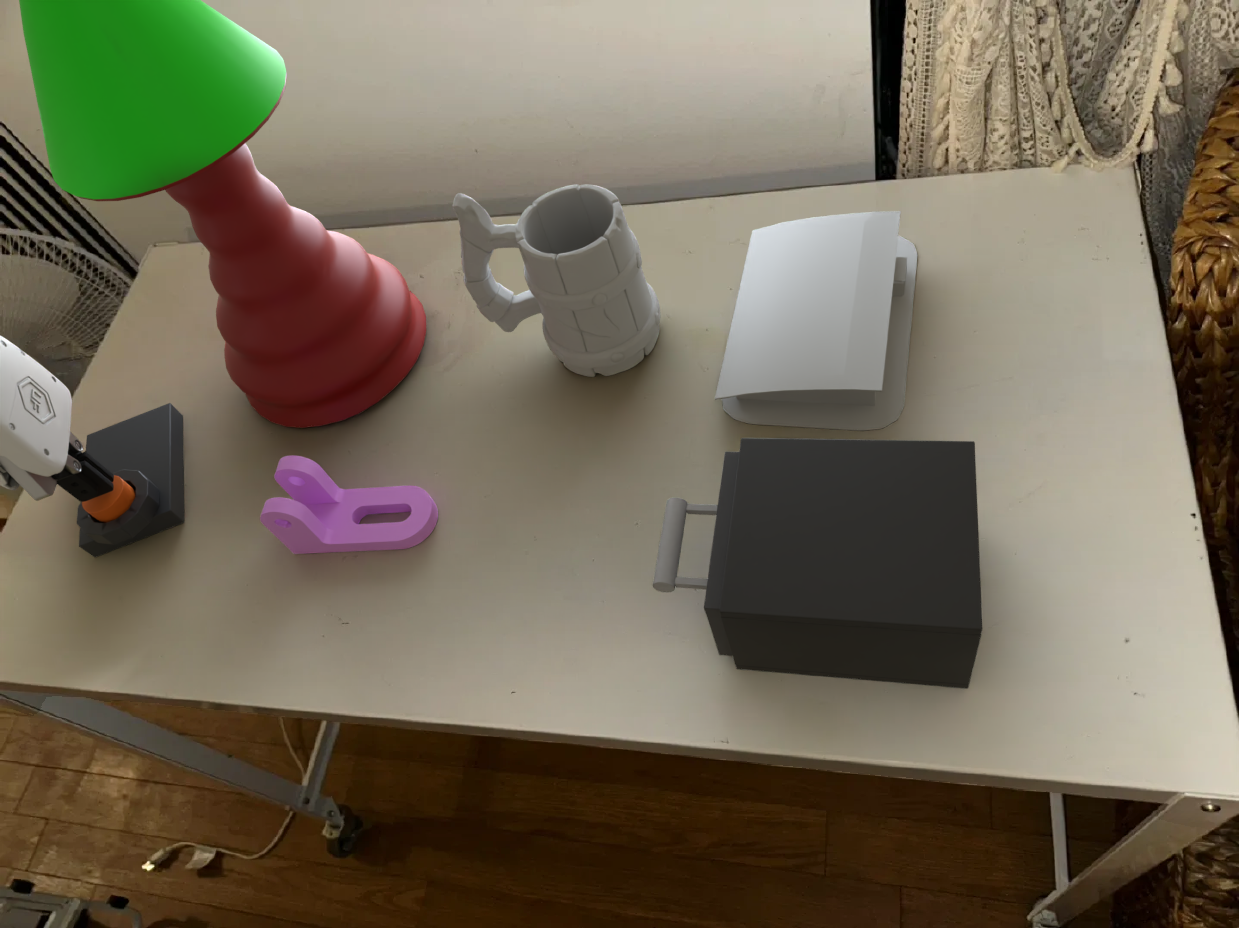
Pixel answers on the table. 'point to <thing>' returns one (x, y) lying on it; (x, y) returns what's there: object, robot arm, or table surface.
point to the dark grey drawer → (713, 584)
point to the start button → (111, 502)
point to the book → (822, 324)
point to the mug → (567, 277)
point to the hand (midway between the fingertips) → (98, 489)
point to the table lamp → (221, 195)
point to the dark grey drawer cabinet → (855, 560)
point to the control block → (138, 478)
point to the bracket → (343, 512)
